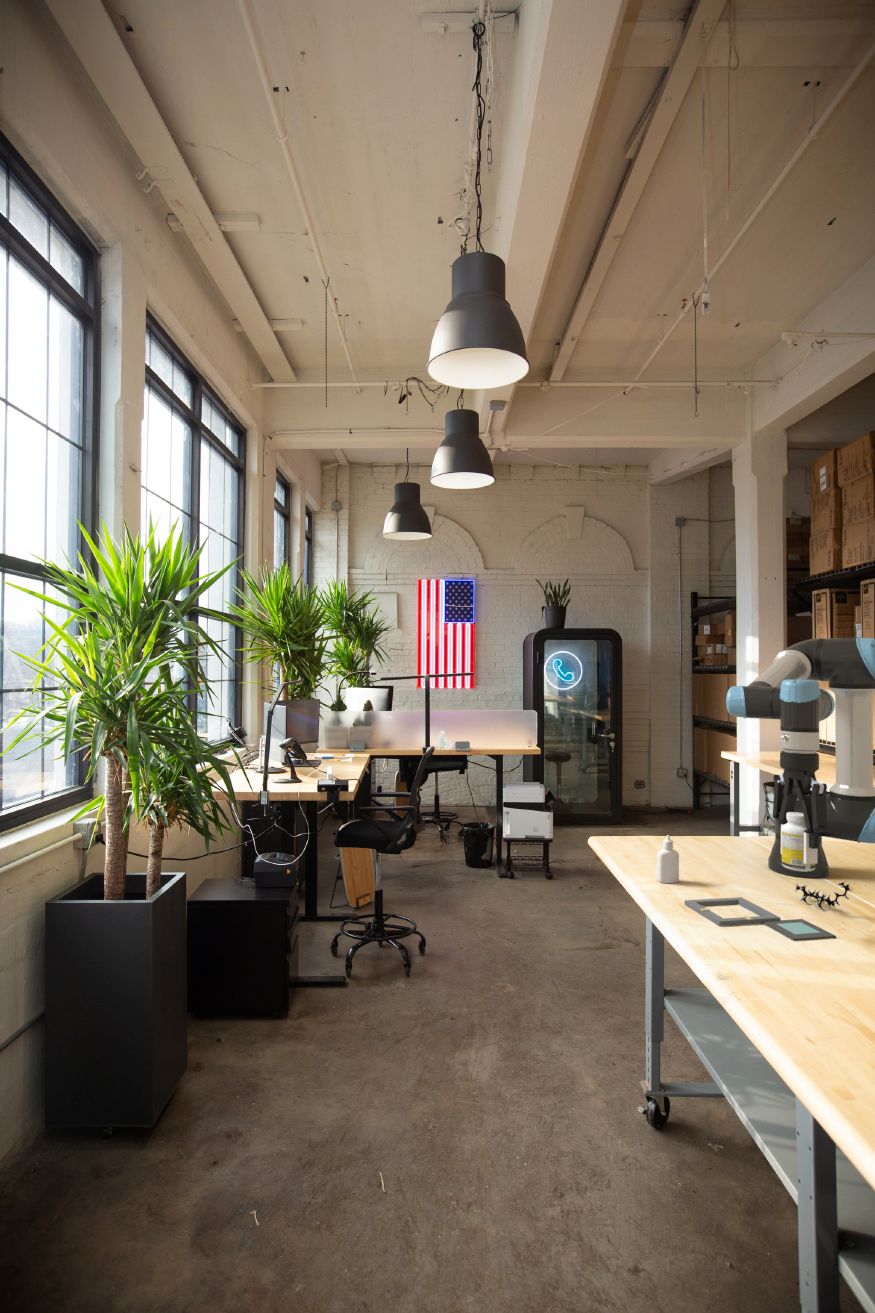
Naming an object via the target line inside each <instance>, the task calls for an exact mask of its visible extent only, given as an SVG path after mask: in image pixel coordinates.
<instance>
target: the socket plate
mask: <svg viewBox="0 0 875 1313" xmlns="http://www.w3.org/2000/svg"><path fill="white" fill-rule="evenodd" d="M723 905H724V906H725V905H727V906H728V905H739V906H741V907H743V908H744V909H747V910H748V911H750V912H752V913H754V914H756V916H748V915H743V916H741V917H729V918H728V917H727V918H725V917H722V916H720V915H718V914H716V913H715V912H713V911H712V910H711V909H710V908H707V906H723ZM684 906H686V907H688V908H690V909H691V910H693V911H694V912H695V913H698V914H699V915H701V916H702V917H703V918H706V919H707V920H709V921H710V922H713V923H714V924H715V925H717V926H718V927H725V926H741V925H744V926H745V925H756V924H757V925H758V924H763V923H762V921H778V920H782V919H781V917H780V916H778V915H776V914H774V913H773V912H771V911H769V910H767V909H765V908H763V907H761V906H760V905H757V904H755V903H753V902H752V901H749V900H747V899H745V898H744V897H741V896H739V897H737V896H736V897H724V898H723V897H722V898H721V897H720V898H705V899H685V900H684ZM757 915H758V916H757Z"/></svg>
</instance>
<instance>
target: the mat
mask: <svg viewBox="0 0 875 1313" xmlns="http://www.w3.org/2000/svg"><path fill="white" fill-rule="evenodd" d="M761 924H763V925H765V926H767V927H768V928H770V929H772V930H774V931H776V932H778V933H779V934H780V935H783V936H785V937H786V938H788V939H790V940H792V941H793V942H794V941H797V942H798V941H807V940H808V941H809V940H821V939H822V940H823V939H835V938H837V936H836V935H835V934H833V933H831V932H830V931H828V930H825V929H823V928H821V927H819V926H817V925H815V924H813V923H811V922H809V921H807V920H805V919H804V918H795V919H781V920H778V921H762V923H761Z"/></svg>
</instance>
